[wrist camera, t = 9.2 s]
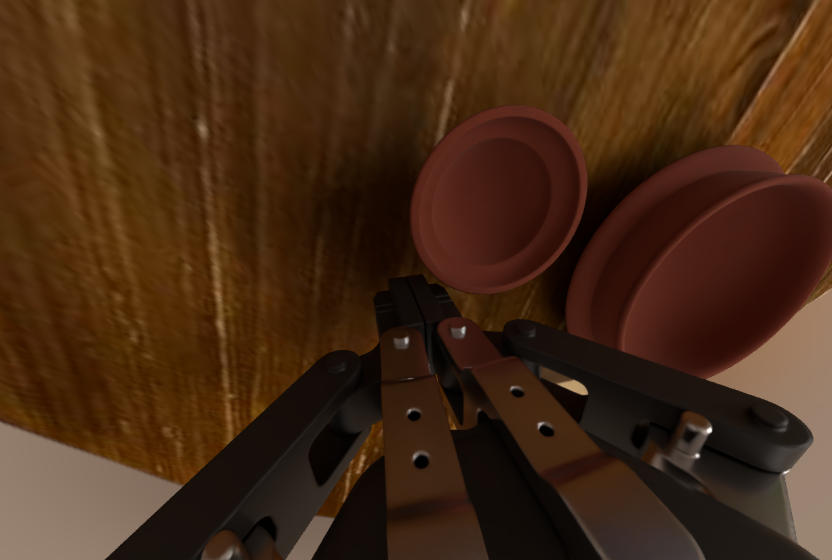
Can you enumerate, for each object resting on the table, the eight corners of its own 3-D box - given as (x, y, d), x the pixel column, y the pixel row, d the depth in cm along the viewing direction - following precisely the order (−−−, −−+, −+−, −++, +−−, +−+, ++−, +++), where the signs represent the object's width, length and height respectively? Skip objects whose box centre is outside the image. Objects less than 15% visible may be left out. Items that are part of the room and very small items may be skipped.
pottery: (644, 358, 21) (712, 411, 17) (357, 294, 14) (363, 358, 10) (779, 191, 17) (909, 212, 13) (461, -13, 10) (536, -97, 6)
